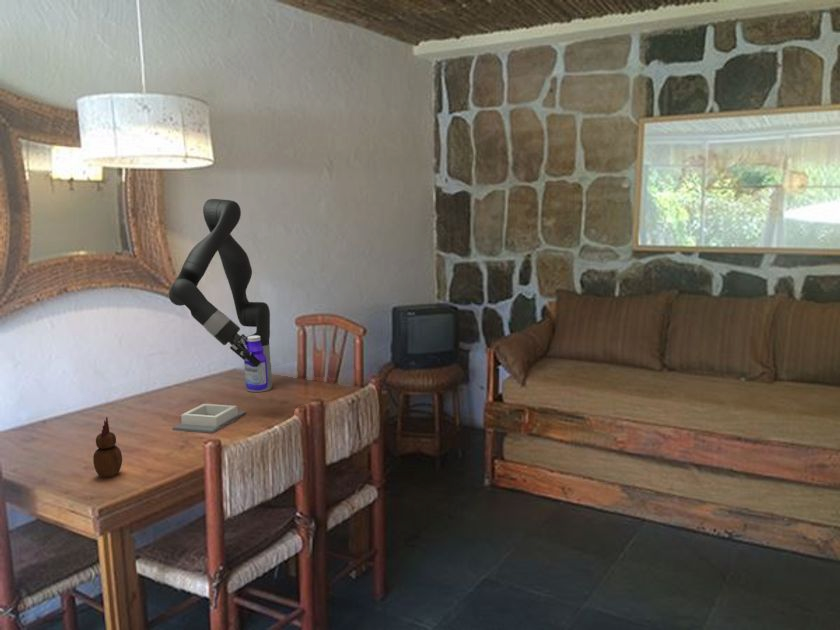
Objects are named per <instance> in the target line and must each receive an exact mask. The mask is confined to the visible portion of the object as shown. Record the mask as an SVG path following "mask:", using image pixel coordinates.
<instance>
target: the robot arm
mask: <svg viewBox="0 0 840 630" xmlns="http://www.w3.org/2000/svg"><path fill="white" fill-rule="evenodd" d="M202 210H203V211H202V214H203V218H204V221H205V223H206V226H207V228H208V230H209V233H208V234H207V235H206V236H205V237H204V238H203V239H202V240H200V241H199V242H198V243H197V244H195V246H193V248H192V249H191V251H190V252H189V253H188V255H187V257H186V259H185V260H184V262H183V264H182V267H181V270H180V272H179V274H178V275H177V277H176V279H175V281H174V282H173V283H172V284H171V286H170V288H169V292H168V298H169V300H170V302H171V303H172V304H174V305H175V306H178V307H180V306H185V307H186V308H187V309H188V310H189V311H190V315H191V316H192V318H193V319H195V320H196V322H198V323H199V324H200V325H201V326H202V327H203V328H204V329H205V330H206V331H207V332H208V333H209V334H210V335H211V336H212V337H213V338H215V339H216V340H217V341H218V342H220V344H222V345H223V346H226V345H227V344H228V343H229V345H230V347H229V349H230V350H231V351H232V352H234V353H235V354H236V355H237V356H239V357H240V358H241V359H242V360H243V361H244V360H245V359H246V360H247V359H248V361H250V362H251V363H252V364H253V365H254V366H255V367H257V366H258V365H259V364H260V363H261V361H260V360H258V359H257V358H256V357H255V356H254V355H253V354H252V353H251V352H250V351H249V347H248V346H247V345H248V338H247V337H249V336H260V339H261V345H262V347H263V348H264V350H263V353H264V355H265V356H266V360H267V375H268V386H267V388H266V389H263V390H260V391H256V390H250V389H247V388H246V391H247V392H252V393H260V392H261V393H263V392H268V391H270V390H271V389H272V388H273V378H272V377H273V375H272V363H271V351H270V350H271V349H270V337H271V322H270V321H271V313H270V311H271V310H270V307H269V305H268V303H266V302H261V301H257V302H256V301H249V299H248V296H247V288H248V286H249V284H250V282H251V279H252V276H253V270H252V265H251V262H250V259H249V256H248V254H247V253H246V251H245V249H244V248H243V247H242V246H241V245H240V244H239V243H238V242H237V241H236V239H235V238H234V237H233V236H232V234H231V233H232V232H233V231H234V229H235V228H236V227H237V225H238V224H239V222H240V219H241V214H242V210H241V207H240V205H239V203H238V202H236V201H235V200H230V199H221V198H210V199H207V200H206V201H205V202H204V204H203V209H202ZM217 252H218V254H219V257H220V261H221V265H222V267H223V270H224V274H225V277H226V279H227V282H228V286H229V289H230V291H231V294H232V298H233V303H234V307H235V312H236V317H237V318H238V319H237V320H238V321H239V324H240V325H241V326H243V327H249V328H256V331H255V333H253V334H251V335H248V336H246V335H245V334H243V333H242V334H241V335H240V334H239V332H240V330H241V327H240V326H239V325H237V323H236V322H234V321H233V320H232V319H230V318H229V317H228V316H227V315H226V313H223V312H222V311H221V310H219V309H218V308H217V307H216V306H215V305H213V303H212V302H210V301H209V300H208V299H207V298H206V296H205V295H204V294H203V292H201V290H200V289H199V287H198V284H199V283H200V281H201V279H202V278H203V277H204V275H205V273H206V271H207V270H208V267H209V265H210V264H211V262H212V260H213V258H214V256H215V255H216V253H217Z"/></svg>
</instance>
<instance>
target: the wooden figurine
mask: <svg viewBox="0 0 840 630" xmlns="http://www.w3.org/2000/svg"><path fill="white" fill-rule="evenodd" d="M95 446H96V447H97V449H96V450H95V451H94V452H93V453H94V454H93V458H92V459H93V460H92V462H93V466H94V469H95V472H96V473H97V475H98V476H99V477H100V476H101V478H111V477H113V475H114V476H116V475H117V474H119V472H120V470H121V468H122V464H123V455H122V451H121V449H120V447H118V445H117V437H116V434H115V433H114V432H112V431H110V425H109V419H108V416H106V418H105V420H103V425H102V429H101V432H100V433H99V434H98V435H97V436H96V437H95ZM110 476H111V477H110Z"/></svg>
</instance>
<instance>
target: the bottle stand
mask: <svg viewBox="0 0 840 630" xmlns="http://www.w3.org/2000/svg"><path fill="white" fill-rule="evenodd" d="M244 414H245V415H246V414H247V412H246V411H243V410H238V406H237V405H229V404H217V403H216V404H214V403H202V404H200V405H197V406H196V407H194V408H192V409H190V410H188V411H186V412H184V413H181V414H180V415H181V416H180V417H181V419H180V420H181V422H180V423H178V424H177V425H174V426H172V429H171V430H172V431H178V432H179V431H181V432H183V431H184V432H192V433H203V434H214V433H216V432H217V431H219V430H221V429H222V428H224V427H226V426H227V424H228V425H230V424H231V423H233V422H234V421H237V420H238V419H240V418H242V417H243V416H245V415H244ZM242 415H243V416H242ZM239 417H240V418H239ZM237 418H238V419H237ZM232 421H233V422H232ZM230 422H231V423H230ZM225 425H226V426H225ZM223 426H224V427H223ZM220 428H221V429H220Z"/></svg>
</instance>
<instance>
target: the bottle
mask: <svg viewBox="0 0 840 630" xmlns="http://www.w3.org/2000/svg"><path fill="white" fill-rule="evenodd" d="M248 336H249V337H247V336H246V337H247V338H248V345H247V346H248V347H249V351H250V352H251V353H252V354H253V355H254V356H255V357H256V358H257V359H258V360H260V361H261V363H260V364H259V365H258V366H257V367H255V366H254V365H253V364H252V363H251V362H250V361H248V359H247V360H246V359H245V360H243V361H244V376H245V387H246V390H247V389H250V390H256V391H260V390H263V389H266V388H267V386H268V375H267V360H266V356H265V355H264V353H263V350H264V348H263V347H262V345H261V339H260V336H250V335H248Z"/></svg>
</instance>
